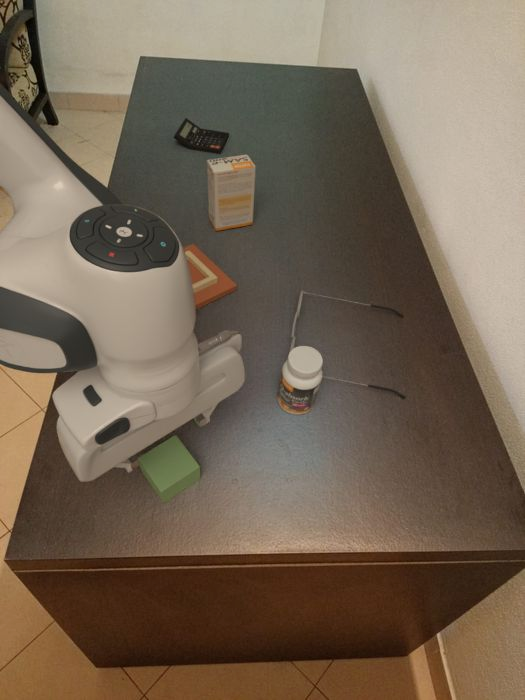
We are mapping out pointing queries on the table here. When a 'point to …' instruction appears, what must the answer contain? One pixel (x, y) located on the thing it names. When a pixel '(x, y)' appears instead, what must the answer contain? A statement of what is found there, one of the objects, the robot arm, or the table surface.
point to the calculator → (201, 138)
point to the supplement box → (231, 191)
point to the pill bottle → (300, 380)
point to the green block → (169, 468)
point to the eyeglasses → (348, 301)
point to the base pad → (206, 278)
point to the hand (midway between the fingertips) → (167, 442)
